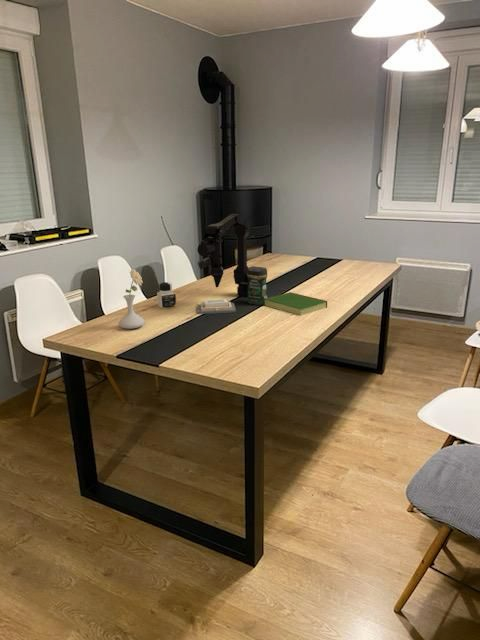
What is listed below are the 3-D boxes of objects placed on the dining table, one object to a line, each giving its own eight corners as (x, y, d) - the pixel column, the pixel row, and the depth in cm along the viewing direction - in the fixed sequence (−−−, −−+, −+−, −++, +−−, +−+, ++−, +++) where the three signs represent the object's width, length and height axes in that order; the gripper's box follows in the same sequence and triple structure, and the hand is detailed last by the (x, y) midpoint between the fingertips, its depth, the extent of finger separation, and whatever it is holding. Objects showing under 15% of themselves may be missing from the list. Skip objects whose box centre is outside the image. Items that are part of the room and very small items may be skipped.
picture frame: (226, 304, 237) (226, 298, 236) (228, 308, 232) (228, 301, 231) (204, 306, 235) (203, 300, 234) (205, 309, 230) (205, 303, 229)
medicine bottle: (162, 309, 235) (160, 285, 232) (157, 305, 241) (156, 282, 238) (176, 307, 238) (174, 283, 235) (171, 303, 245) (170, 280, 241)
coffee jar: (245, 303, 242) (244, 267, 236) (253, 300, 248) (253, 264, 243) (261, 306, 237) (261, 269, 231) (269, 302, 243) (269, 266, 237)
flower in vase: (132, 332, 203) (127, 274, 196) (113, 328, 209) (107, 271, 201) (153, 324, 214) (149, 268, 206) (134, 320, 220) (129, 265, 212)
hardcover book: (327, 308, 233) (327, 301, 232) (300, 316, 222) (301, 308, 220) (289, 298, 251) (289, 291, 250) (263, 306, 240) (262, 298, 238)
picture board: (233, 304, 241) (233, 300, 240) (235, 312, 228) (235, 307, 228) (197, 306, 239) (197, 302, 239) (197, 314, 227) (197, 309, 226)
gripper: (197, 249, 235) (199, 281, 240) (198, 257, 218) (200, 290, 223) (220, 248, 236) (221, 279, 241) (222, 255, 219) (224, 289, 224)
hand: (216, 284), depth 232 cm, fingers open, 9 cm apart
